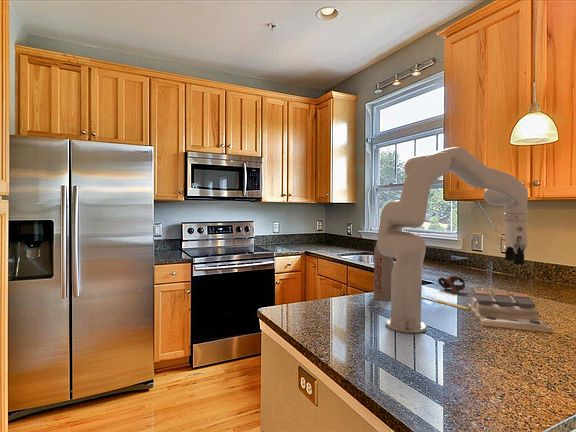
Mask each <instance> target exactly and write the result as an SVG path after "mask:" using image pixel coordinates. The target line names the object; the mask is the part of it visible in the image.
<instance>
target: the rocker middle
mask: <svg viewBox="0 0 576 432" xmlns="http://www.w3.org/2000/svg"><path fill="white" fill-rule="evenodd" d="M492 297H493V299H495V300H496V302H497V303H498V305H506V306H514V302H513V301H512V300H513V298H511V297H510V295H509V294H508V293H507V292H503V291H502V292H501V291H493V292H492Z"/></svg>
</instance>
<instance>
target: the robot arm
mask: <svg viewBox="0 0 576 432" xmlns="http://www.w3.org/2000/svg"><path fill="white" fill-rule="evenodd" d="M404 173H405V175H406V178H405V179H404V183H403V186H402V191H401V194H400V199H399V200H392V201H389V202H387V203H386V204H385V205H384V207H383V209H381V214H380V219H379V225H378V233H377V239H376V240H377V241H376V242H377V246H378V250H379V251H380V253H381V254H382V255H384V256H386V257H390V258H393V259H394V260H395V262H394V263H393V269H392V275H391V300H390V318H388V319H386V320H385V325H386V327H387V328H388V329H391V330H393V331H395V332H399V333H404V334H419V333H420V334H421V333H423V332H425V331H426V330H427V325H426V324H425V323H424V322H422V298H421V296H422V290H423V289H422V287H423V286H422V282H423V281H422V279H423V278H422V277H423V265H424V260H425V255H426V248H427V246H426V242H425V240H424V239H423V237H422V236H421V235H419V234H417V233H415V232H411V231H403V229H404V228H405V229H419V228H420V227H422V226H423V225H424V223H425V220H426V217H427V216H426V215H427V209H428V204H429V203H428V202H429V197H430V196H429V195H430V191H431V188H432V186H433V184H434V183H435V182H436V181H437V179H439V178H441V177H443V176H444V175H446V174H447V173H453V175H455V176H457V177H458V178H459V179H460V180H461V181H463V182H465V183H466V184H467V185H468V186H470V187H473V188H478V189H484V192H483V200H484V201H485V203H487V204H489V205H491V206H503V223H505V227H504V228H505V229H504V244H505V248H504V249H505V252H504V253H505V254H504V255H505V259H504V260H505V261H513V264H514V265H519V266H520V265H523V266H524V264H525V249H526V248H527V247H528V231H527V224H526V223H527V222H528V197H529V193H528V192H529V191H528V188H527V187H526V186H525V184H523V182H522V181H520V180H519V179H518V178H516V177H515V176H513V175H512V174H509V173H506V172H504V171H501V170H498V169H496V168H492V167H489V166H487V165H485V164H484V163H483V161H481V160H480V159H478V158H477V157H476V156H475V155H473V154H472V153H471V152H470V151H468V150H467V149H466V148H464V147H462V146H461V147H460V146H454V147H449V148H445V149H440V150H436V151H432V152H428V153H424V154H420V155H416V156H412V157H410V158H409V159H408V160H406V161H405V163H404Z"/></svg>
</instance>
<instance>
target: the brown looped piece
mask: <svg viewBox="0 0 576 432" xmlns="http://www.w3.org/2000/svg"><path fill="white" fill-rule="evenodd" d="M457 281H459V282H460V283H462V284H455V282H457ZM437 282H438V284H439V285H440V287H442V289H445V290H447V289H450V292H451V293H452V294H455V293H456V292H461V291H464V289H465V288H466V282H465V280H464V279H463V278H462V277H460V276H457V275H450V276H449V277H448V278H445V277H440V278H438V279H437Z"/></svg>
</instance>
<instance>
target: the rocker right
mask: <svg viewBox="0 0 576 432" xmlns="http://www.w3.org/2000/svg"><path fill="white" fill-rule="evenodd" d="M511 297H512V300H514V301H516V303H517V304H518V306H519V307H530V308H534V309H536V303H535V302H534V301H533V300H532V298H531V297H530V296H529V295H528V294H527V293H517V292H515V293H514V292H512V294H511Z"/></svg>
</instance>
